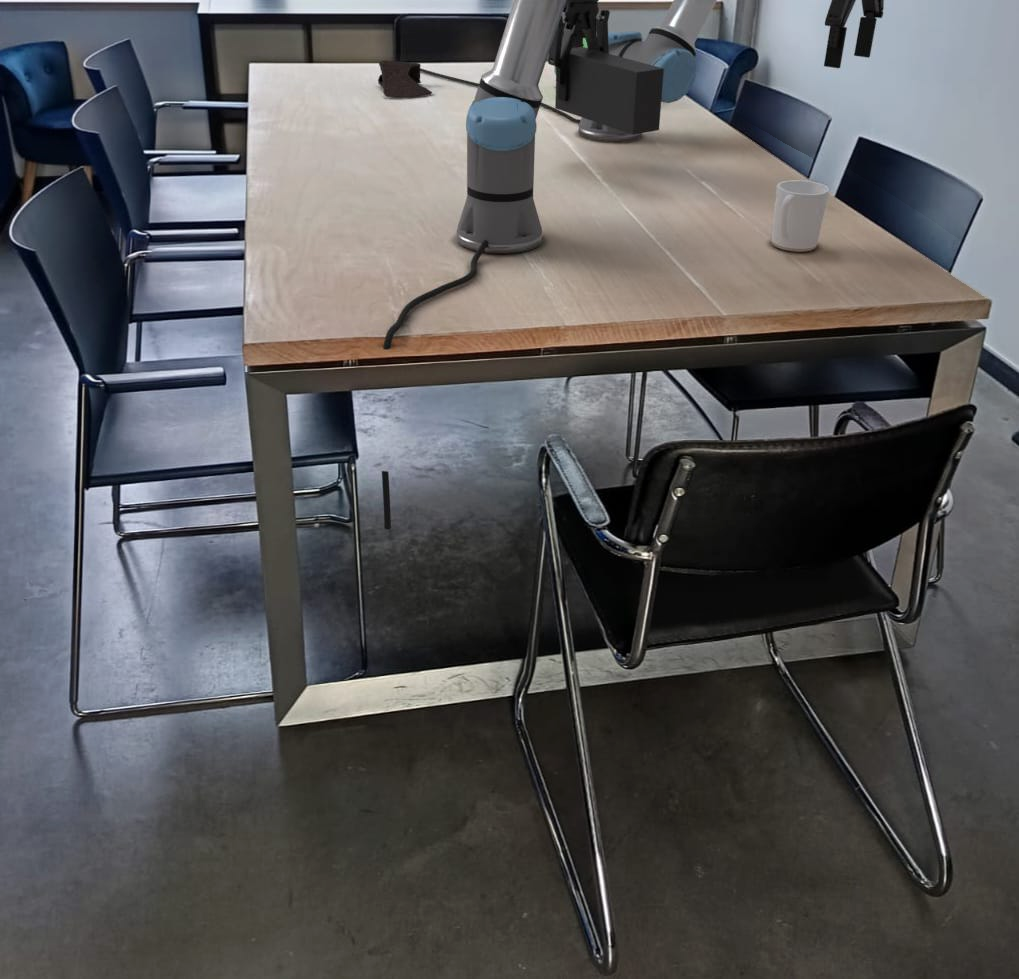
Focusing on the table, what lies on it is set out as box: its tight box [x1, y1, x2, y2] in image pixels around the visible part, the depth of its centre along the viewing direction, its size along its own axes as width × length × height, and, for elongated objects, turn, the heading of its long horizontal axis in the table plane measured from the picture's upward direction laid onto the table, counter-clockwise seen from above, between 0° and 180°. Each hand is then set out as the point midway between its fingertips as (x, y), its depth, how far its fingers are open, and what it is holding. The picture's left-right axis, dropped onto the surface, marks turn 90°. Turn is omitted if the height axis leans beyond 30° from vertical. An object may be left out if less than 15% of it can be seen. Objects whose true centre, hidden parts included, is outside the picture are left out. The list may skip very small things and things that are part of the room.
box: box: [554, 46, 664, 135], centre depth 226 cm, size 26×7×12 cm, turn 34°
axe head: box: [377, 59, 433, 99], centre depth 299 cm, size 18×8×15 cm
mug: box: [770, 179, 830, 253], centre depth 193 cm, size 11×9×10 cm
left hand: (847, 61), depth 194 cm, fingers open, 13 cm apart
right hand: (577, 97), depth 234 cm, fingers closed on box, 7 cm apart
